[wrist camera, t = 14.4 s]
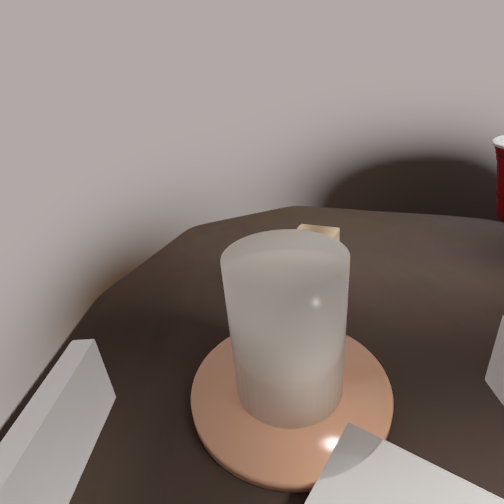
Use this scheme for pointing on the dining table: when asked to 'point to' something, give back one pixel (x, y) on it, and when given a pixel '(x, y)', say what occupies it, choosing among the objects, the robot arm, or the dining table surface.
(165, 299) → the dining table surface
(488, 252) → the dining table surface
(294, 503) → the dining table surface
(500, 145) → the plastic cup
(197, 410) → the peach round disc
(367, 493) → the white square pad
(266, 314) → the white pillar candle
